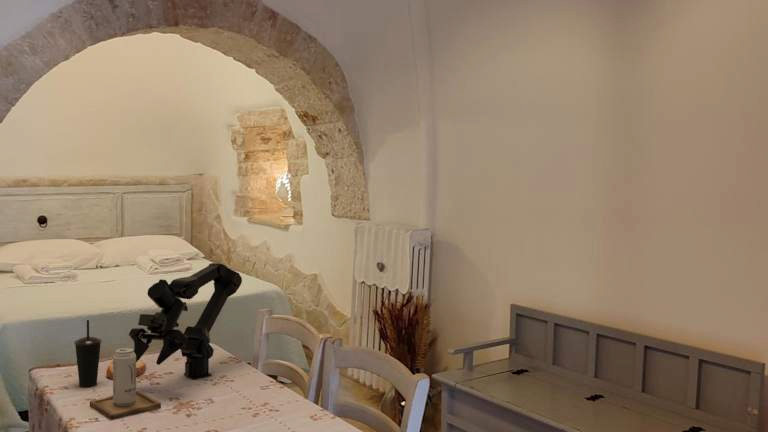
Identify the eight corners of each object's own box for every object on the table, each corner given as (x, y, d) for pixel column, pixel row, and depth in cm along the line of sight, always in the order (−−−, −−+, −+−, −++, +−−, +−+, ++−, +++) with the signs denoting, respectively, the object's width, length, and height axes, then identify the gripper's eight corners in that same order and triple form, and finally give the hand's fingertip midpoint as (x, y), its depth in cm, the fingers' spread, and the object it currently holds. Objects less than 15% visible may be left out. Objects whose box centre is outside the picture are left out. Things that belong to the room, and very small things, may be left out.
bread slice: (126, 361, 240) (126, 350, 240) (164, 369, 232) (164, 358, 231) (81, 374, 224) (81, 362, 224) (121, 383, 216) (121, 371, 215)
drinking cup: (91, 390, 207) (91, 323, 206) (68, 388, 209) (68, 322, 208) (107, 382, 215) (106, 318, 214) (84, 380, 216) (84, 316, 215)
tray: (138, 395, 203) (138, 390, 203) (160, 408, 193) (160, 402, 193) (89, 406, 193) (89, 401, 193) (110, 420, 183) (110, 414, 183)
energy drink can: (130, 407, 190) (129, 353, 189) (108, 406, 191) (108, 352, 190) (140, 400, 196) (139, 347, 195) (119, 399, 197) (119, 346, 196)
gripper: (129, 301, 208) (104, 348, 199) (176, 302, 200) (152, 351, 191) (152, 320, 216) (129, 366, 207) (198, 322, 207) (176, 370, 199)
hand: (145, 363), depth 201 cm, fingers open, 9 cm apart
